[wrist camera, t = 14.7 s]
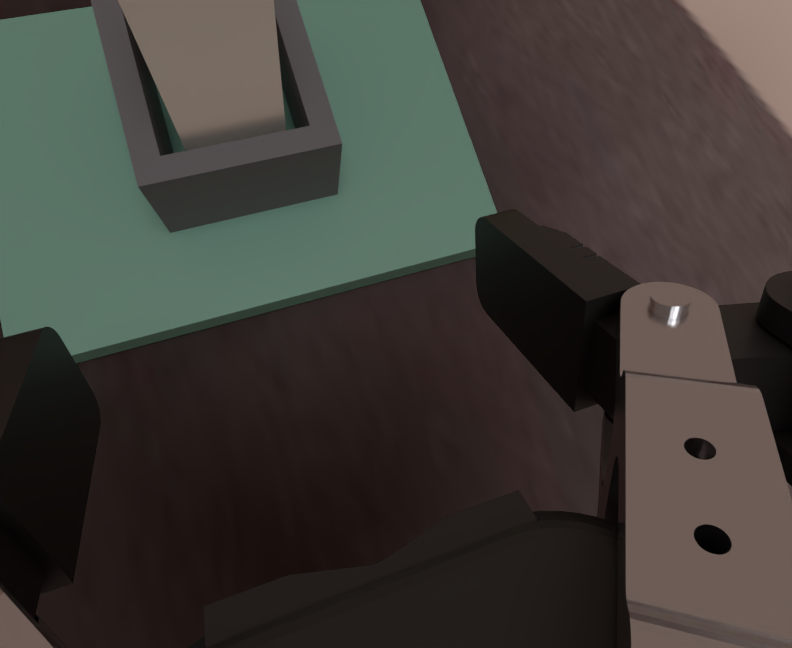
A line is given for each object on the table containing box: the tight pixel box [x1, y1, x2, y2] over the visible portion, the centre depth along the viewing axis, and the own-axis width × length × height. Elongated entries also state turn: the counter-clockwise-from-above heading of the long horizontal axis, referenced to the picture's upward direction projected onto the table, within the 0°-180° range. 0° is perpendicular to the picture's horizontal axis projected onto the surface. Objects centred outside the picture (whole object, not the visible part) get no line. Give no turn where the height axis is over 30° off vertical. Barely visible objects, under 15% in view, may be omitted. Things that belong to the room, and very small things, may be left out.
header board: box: [0, 0, 497, 363], centre depth 24 cm, size 16×22×6 cm
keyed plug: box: [118, 0, 286, 151], centre depth 20 cm, size 5×4×11 cm
